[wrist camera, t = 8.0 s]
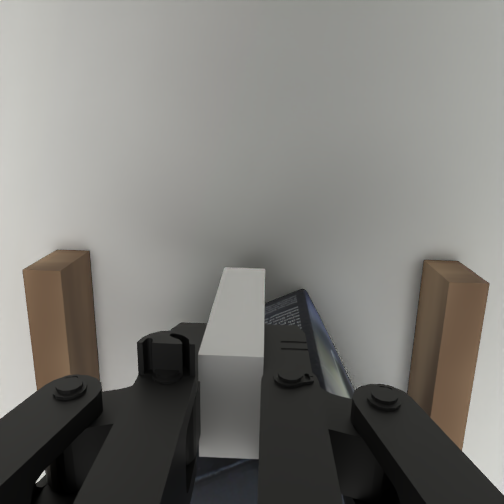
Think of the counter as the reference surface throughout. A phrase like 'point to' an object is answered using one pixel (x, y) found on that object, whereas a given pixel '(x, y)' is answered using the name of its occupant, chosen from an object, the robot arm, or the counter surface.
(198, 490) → the small box
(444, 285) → the channel
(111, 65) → the counter surface
